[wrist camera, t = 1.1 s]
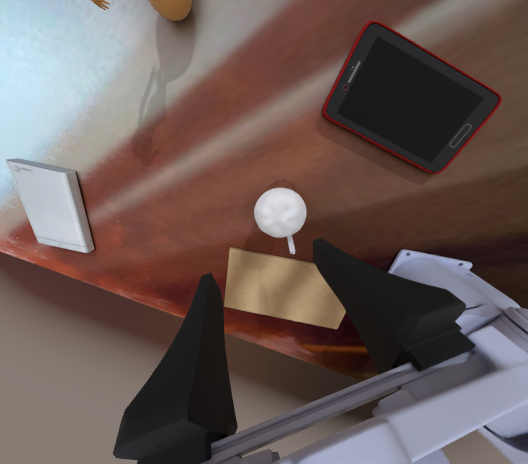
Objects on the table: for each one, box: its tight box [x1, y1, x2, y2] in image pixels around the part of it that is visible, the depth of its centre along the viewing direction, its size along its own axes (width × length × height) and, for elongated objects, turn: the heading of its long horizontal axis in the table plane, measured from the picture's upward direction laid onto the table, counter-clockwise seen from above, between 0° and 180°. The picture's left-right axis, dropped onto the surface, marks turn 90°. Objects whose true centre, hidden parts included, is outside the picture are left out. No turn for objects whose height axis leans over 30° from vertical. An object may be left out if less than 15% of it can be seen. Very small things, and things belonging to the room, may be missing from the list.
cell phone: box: [322, 21, 502, 174], centre depth 18 cm, size 8×15×1 cm, turn 66°
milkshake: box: [254, 180, 306, 254], centre depth 19 cm, size 4×5×10 cm
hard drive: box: [6, 159, 94, 253], centre depth 27 cm, size 2×8×12 cm
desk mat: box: [224, 247, 346, 329], centre depth 30 cm, size 20×12×1 cm, turn 81°
